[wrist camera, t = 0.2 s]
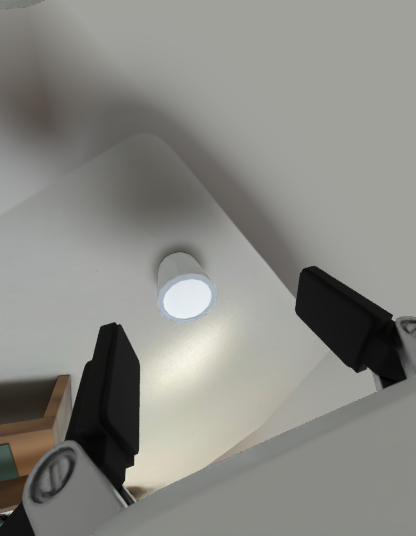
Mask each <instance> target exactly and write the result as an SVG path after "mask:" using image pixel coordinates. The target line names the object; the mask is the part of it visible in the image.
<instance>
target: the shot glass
mask: <svg viewBox="0 0 416 536" xmlns="http://www.w3.org/2000/svg"><path fill="white" fill-rule="evenodd" d="M216 299H217V289H216V287H215V286H214V284H213V282H212V281H211V279H210V278H209V277H208V275H207V274H206V273H205V271H204V270H203V269H202V268H201V266H200V265H199V264H198V262H197V261H196V260H195V259H194V258H193V257H192V256H190V255H189V254H186V253H182V252H179V253H173V254H171V255H169V256H167V257H165V258H164V260H163V261H162V262H161V263H160V266H159V270H158V289H157V304H158V309H159V311H160V313H161V314H162V315H163V316H164V317H165V318H166V319H168V320H171V321H173V322H179V323H187V322H191V321H195V320H198V319H199V318H201V317H203V316H205V315H206V314H207V313H208V312H209V311H210V310H211V309H212V308H213V306H214V303H215V301H216Z"/></svg>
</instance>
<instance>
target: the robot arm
mask: <svg viewBox="0 0 416 536" xmlns="http://www.w3.org/2000/svg"><path fill="white" fill-rule="evenodd" d="M295 312H296V314H297V315H298V316H299V317H300V318H301V320H302V321H303V322H304V323H305V324H306V325H307V326H308V327H309V328H310V329H311V330H312V331H313V332H314V333H315V334H316V335H317V336H318V337H319V338H320V339H321V340H322V341H323V342H324V343H325V344H326V345H327V346H328V347H329V348H330V349H331V350H332V351H333V352H334V353H335V354H336V355H337V356H338V357H339V358H340V359H341V360H342V362H343V363H344V364H345V365H347V366H348V367H351V368H352V369H353V370H354V371H355V372H356V373H359V372H361V371H363V370H366V369H367V367H368V368H369V369H370V370H372V373H373V377H374V381H375V385H376V390H377V392H375V393H373V394H371V395H369V396H366V397H364V398H362V399H359V400H357V401H355V402H353V403H350V404H348V405H346V406H343V407H341V408H339V409H336V410H334V411H332V412H330V413H327V414H325V415H323V416H321V417H318V418H316V419H314V420H312V421H310V422H307V423H305V424H303V425H300V426H298V427H296V428H294V429H291V430H289V431H287V432H284V433H282V434H280V435H278V436H275V437H273V438H271V439H269V440H266V441H264V442H262V443H260V444H258V445H255V446H253V447H251V448H249V449H246V450H244V451H242V452H240V453H238V454H235V455H233V456H231V457H229V458H227V459H224V460H222V461H220V462H217V463H216V464H214V465H211V466H209V467H206V468H204V469H202V470H200V471H198V472H196V473H193V474H191V475H189V476H187V477H185V478H183V479H181V480H179V481H177V482H174V483H172V484H170V485H168V486H166V487H164V488H162V489H160V490H158V491H156V492H154V493H152V494H150V495H148V496H146V497H145V498H143V499H141V500H139V501H137V502H136V500H135V499H134V498H133V496H132V495H131V494H130V493H129V491H128V490H127V489H126V487H125V486H124V485H123V483H124V481H125V471H126V468H129V467H131V466H134V455H136V454H138V452H139V407H140V364H139V360H138V358H137V356H136V354H135V352H134V350H133V348H132V346H131V344H130V342H129V340H128V338H127V336H126V334H125V332H124V330H123V328H122V326H121V324H119V325H117V324H116V323H115V322H114V323H110V324H107V325H103V326H101V327H100V330H99V334H98V338H97V342H96V346H95V350H94V355H93V359H92V360H91V361H89V362H87V363H86V365H85V367H84V371H83V374H82V378H81V382H80V385H79V389H78V393H77V396H76V400H75V404H74V407H73V411H72V415H71V418H70V422H69V426H68V429H67V433H66V436H65V440H64V442H60V443H59V444H57V445H55V446H53V447H52V448H51V449H50V450H48V451H47V452H46V453H45V454H44V455H43V456H42V457H41V458H40V460H39V461H38V462H37V463H36V464H35V466H34V468H33V469H32V471H31V472H30V474H29V476H28V478H27V481H26V483H25V486H24V490H23V495H22V502H21V503H20V504H19V505H18V506H17V508H16V509H15V510H14V511H13V512H12V513H11V515H10V516H9V517H8V518H7V519H6V520H5V522H4V523H3V524H2V525H1V526H0V536H416V317H411V316H403V317H399V318H397V319H396V321H395V322H394V321H393V320H391V319H392V316H393V315H392V314H390V313H389V312H387V311H386V310H384V309H382V308H381V307H379V306H378V305H376V304H375V303H373V302H372V301H370V300H368V299H367V298H365V297H363V296H362V295H360V294H359V293H357V292H356V291H354V290H353V289H351V288H349V287H348V286H346V285H345V284H343V283H342V282H340V281H338V280H336V279H335V278H333V277H332V276H330V275H328V274H327V273H326V272H324V271H323V270H321V269H319V268H318V267H316V266H311V267H308V268H305V269H303V270H302V272H301V273H300V278H299V285H298V292H297V299H296V306H295Z"/></svg>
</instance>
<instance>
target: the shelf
mask: <svg viewBox="0 0 416 536" xmlns="http://www.w3.org/2000/svg"><path fill="white" fill-rule="evenodd" d="M71 415H72V403H71V386H70V375H64V376H59V377H58V379H57V382H56V385H55V387H54V390H53V393H52V395H51V398H50V401H49V403H48V406H47V408H46V411H45V414H44V416H43V418H41V419H34V420H28V421H21V422H14V423H7V424H0V513H3V512H7V511H11V510H14V509H16V508H17V506H18V505H19V504H20V503H21V502H22V495H23V490H24V486H25V483H26V481H27V478H28V476H29V474H30V472H31V471H32V469H33V468H34V466H35V464H36V463H37V462H38V461H39V460H40V458H41V457H42V456H43V455H44V454H45V453H46V452H47V451H48V450H50V449H51V448H52V447H53V446H55V445H57V444H59V443H60V442H64V440H65V436H66V433H67V429H68V426H69V422H70V418H71Z"/></svg>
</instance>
